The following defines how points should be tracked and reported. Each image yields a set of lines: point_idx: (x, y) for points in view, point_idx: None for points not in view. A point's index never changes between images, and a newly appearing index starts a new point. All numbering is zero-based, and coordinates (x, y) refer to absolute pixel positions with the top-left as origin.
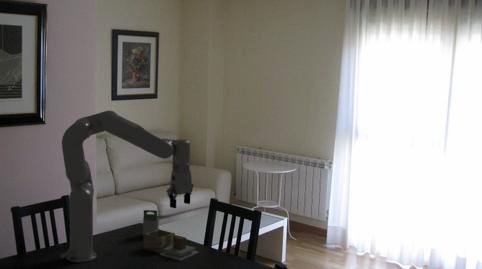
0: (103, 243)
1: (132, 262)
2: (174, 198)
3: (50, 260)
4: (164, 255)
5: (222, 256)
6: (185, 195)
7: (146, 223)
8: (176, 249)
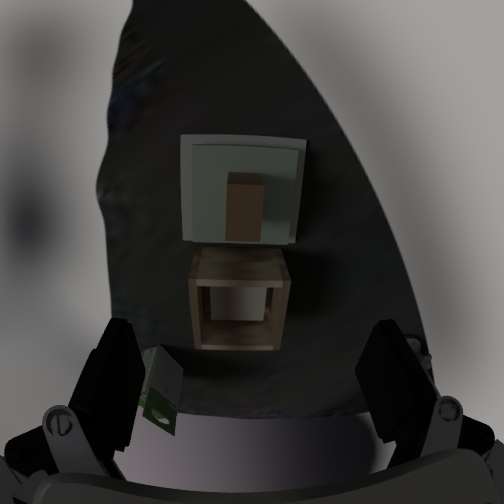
0: (291, 390)
1: (387, 263)
2: (446, 408)
3: None
4: (297, 220)
5: (160, 41)
6: (122, 436)
7: (173, 394)
8: (264, 196)
